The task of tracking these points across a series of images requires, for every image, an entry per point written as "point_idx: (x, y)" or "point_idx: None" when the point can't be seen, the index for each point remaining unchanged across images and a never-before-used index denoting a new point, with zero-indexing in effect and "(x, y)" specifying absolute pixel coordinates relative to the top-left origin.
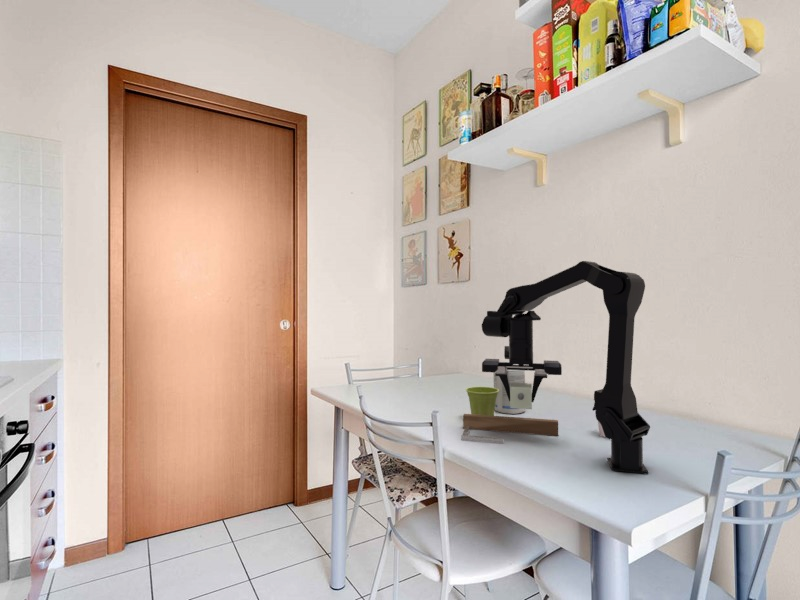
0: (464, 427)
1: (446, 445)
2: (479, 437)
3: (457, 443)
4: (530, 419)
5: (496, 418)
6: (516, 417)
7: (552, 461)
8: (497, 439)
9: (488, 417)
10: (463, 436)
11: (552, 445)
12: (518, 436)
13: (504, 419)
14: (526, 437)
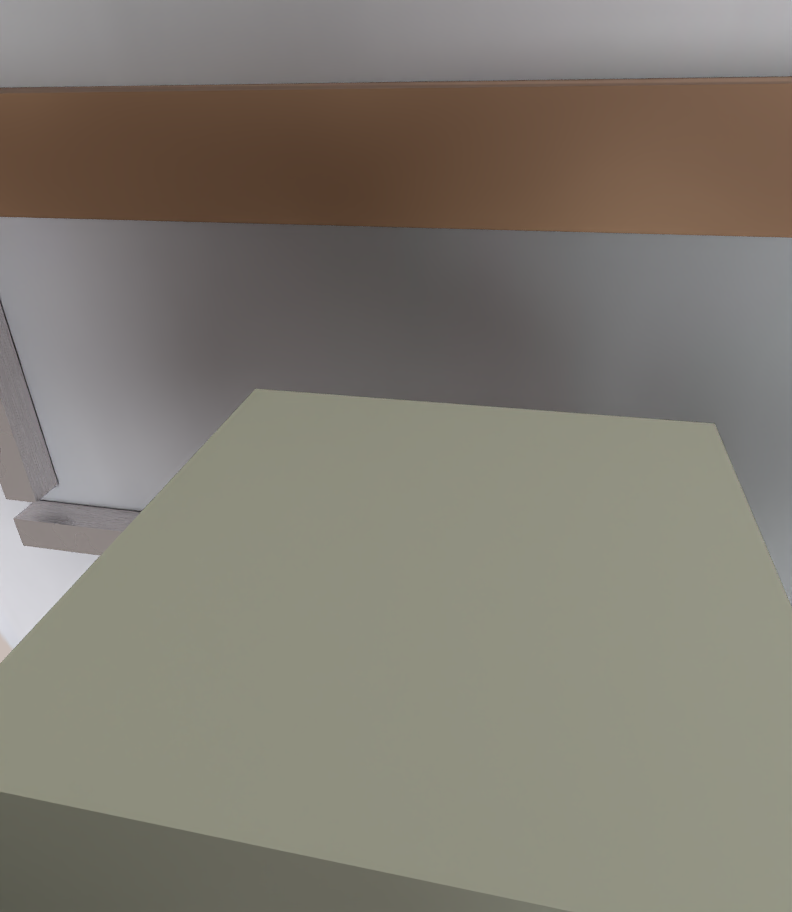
0: None
1: (17, 630)
2: None
3: (55, 591)
4: (657, 188)
5: (147, 216)
6: (423, 110)
7: None
8: None
9: (41, 214)
10: (40, 544)
11: (786, 554)
12: (475, 336)
13: (257, 219)
14: (560, 354)
